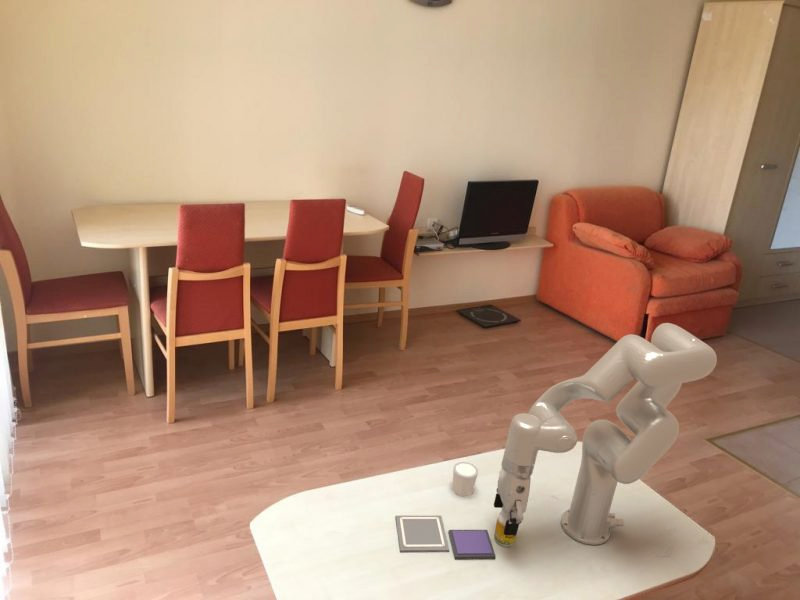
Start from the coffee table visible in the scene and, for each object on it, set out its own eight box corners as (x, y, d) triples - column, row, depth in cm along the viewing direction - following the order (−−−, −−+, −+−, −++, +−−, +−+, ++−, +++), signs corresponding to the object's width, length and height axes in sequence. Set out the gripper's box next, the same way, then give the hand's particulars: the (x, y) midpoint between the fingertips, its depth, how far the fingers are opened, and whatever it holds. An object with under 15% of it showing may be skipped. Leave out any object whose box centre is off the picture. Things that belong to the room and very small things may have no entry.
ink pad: (486, 532, 161) (487, 528, 160) (495, 559, 153) (495, 555, 152) (448, 532, 160) (448, 528, 159) (454, 559, 151) (455, 555, 151)
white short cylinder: (458, 500, 171) (462, 479, 169) (445, 485, 177) (448, 464, 174) (479, 494, 174) (483, 473, 172) (466, 479, 180) (469, 459, 177)
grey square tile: (440, 517, 165) (441, 514, 164) (448, 551, 154) (449, 548, 153) (395, 517, 163) (395, 514, 163) (400, 552, 152) (400, 549, 152)
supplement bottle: (505, 529, 163) (510, 499, 159) (519, 542, 159) (525, 512, 155) (489, 536, 160) (494, 506, 156) (503, 550, 156) (509, 519, 152)
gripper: (544, 487, 143) (529, 546, 149) (522, 442, 159) (509, 497, 165) (512, 486, 142) (498, 545, 148) (494, 441, 158) (482, 496, 164)
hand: (504, 520), depth 157 cm, fingers open, 9 cm apart
